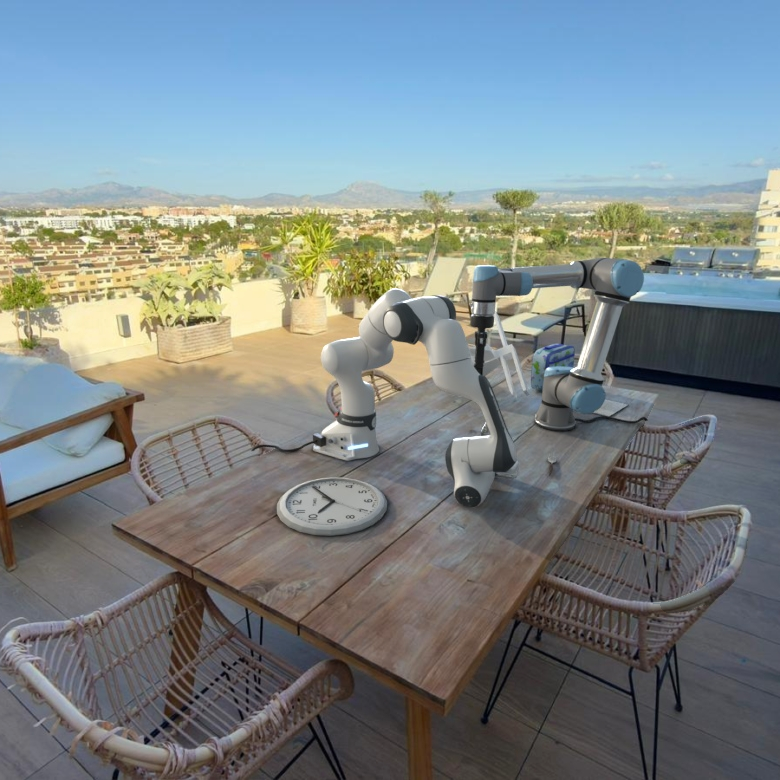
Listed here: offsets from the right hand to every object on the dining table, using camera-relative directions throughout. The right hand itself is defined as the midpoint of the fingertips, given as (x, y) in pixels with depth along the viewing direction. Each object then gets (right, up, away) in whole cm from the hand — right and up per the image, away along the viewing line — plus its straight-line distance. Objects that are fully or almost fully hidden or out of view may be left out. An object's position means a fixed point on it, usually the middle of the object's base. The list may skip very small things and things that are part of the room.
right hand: (477, 383), depth 175 cm
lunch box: (+48, -1, +76) cm, 90 cm away
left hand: (+1, -22, -13) cm, 26 cm away
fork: (+23, -27, -7) cm, 36 cm away
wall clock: (-45, -34, -33) cm, 65 cm away
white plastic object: (+12, -3, +68) cm, 69 cm away
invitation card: (+62, -9, +51) cm, 81 cm away
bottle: (+1, -28, -12) cm, 30 cm away
